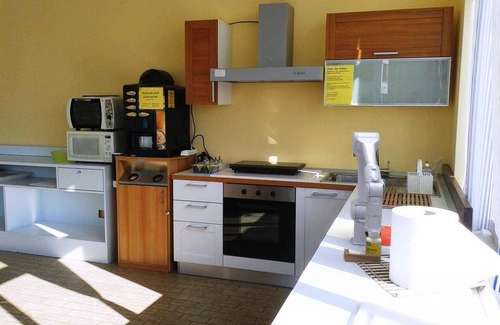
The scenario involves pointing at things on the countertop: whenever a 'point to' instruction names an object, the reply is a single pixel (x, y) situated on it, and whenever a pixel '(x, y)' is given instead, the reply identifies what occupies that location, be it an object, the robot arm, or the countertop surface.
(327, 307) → the countertop surface
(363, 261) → the wooden l-shaped block
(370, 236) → the supplement bottle
